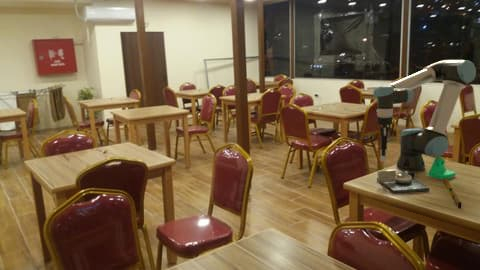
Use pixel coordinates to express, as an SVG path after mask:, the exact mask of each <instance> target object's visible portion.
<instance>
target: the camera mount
mask: <svg viewBox="0 0 480 270" xmlns="http://www.w3.org/2000/svg"><path fill="white" fill-rule="evenodd" d="M434 158H435V159H434V161H433V163H432V165H431V167H430V169H429V171H428V176H429V177H432V178H436V179H439V180H443V178H446V179H447V180H450V179H452V178H453V177H456V175H457V174H456V172H455V171H453V170H449V169H446V166H445V163H446V160H445V158H441V157H434Z"/></svg>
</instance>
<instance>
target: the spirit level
mask: <svg viewBox="0 0 480 270" xmlns="http://www.w3.org/2000/svg"><path fill="white" fill-rule="evenodd" d="M442 183H443V185H444V186H445V188H446V190H447V191H448V193H449V195H450V196H451V198H452V200H453V201H454V204H455V205H456V207H457V208H458V209H462V205H463V204H462V202H461V200H460V198H459V197H458V195H457V193H456V192H455V190H453V187H452V186H451V184H450V182H449V180H448V179H446V178H443V179H442Z"/></svg>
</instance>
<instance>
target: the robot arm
mask: <svg viewBox="0 0 480 270" xmlns="http://www.w3.org/2000/svg"><path fill="white" fill-rule="evenodd" d="M476 75H477V69H476V66H475V63H474V62H472V60H471V61H470V60H467V59H466V60H465V59H443V60H440V61H436V62H434V63H431V64H430V65H427V66H425V67H423V68H422V69H421V70H420V71H417V72H415V73H412V74H411V75H408V76H406V77H404V78H401V79H399V80H396V81H395V82H392V83H390V84H387V85H380V86H377V87H375V88H374V90H373V93H372V94H373V98H374V99H375V100H377V102H376V104H377V105H376V106H377V107H376V108H377V109H376V110H375V112H376V116H377V117H376V124H377V125H379V126H380V127H379V131H380V147H379V150H380V153H379V154H380V155H379V156H380V158H379V159H380V160H379V162H387V149H388V147H387V145H388V136H389V129H390V128H389V127H388V126H391V125H393V116H394V105H397V104H409V103H411V102H412V101H413V100H414V99H415V98H414V97H415V93H414V91H413V90H414V89H416V88H419V87H421V86H423V85H425V84H427V83H428V84H432V83H435V82H442V84H443V87H442V90H441V92H440V95H439V97H438V98H439V99H438V101H437V103H436V106H435V108H434V111H433V113H432V117H431V119H430V122H429V125H428V126H427V127H425V128H424V129H423V128H419V127H418V128H413V127H412V128H406V129H402V130H401V132H400V148H399V150H400V152H399V157H398V158H397V161H396V168H397V169H399V170H402V171H405V172H421V171H424V170H425V168H426V164H425V161H424V160H425V159H424V157H423V155H424V156H427V157H433V158H437V157H438V158H440V156H441V157H442V156H443V155H444V154H445V153H446V152H447V150H448V148H449V140H448V139H447V136H448V135H447V132H446V130H447V128H448V125H449V122H450V121H451V117H452V115H453V112H454V110H455V106H456V104H457V101H458V100H459V96H460V93H461V92H462V90H463V89H466V87H467V84H469V83H472V81H474V80H475V78H476Z"/></svg>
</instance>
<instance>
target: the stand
mask: <svg viewBox="0 0 480 270" xmlns="http://www.w3.org/2000/svg"><path fill="white" fill-rule="evenodd" d="M400 173H403V174H408V175H411V176H412V182H411V183H398V182H383V183H379V184H380V185H381V186H382V187H383V188H385V189H386V190H388V191H389V192H390V193H391V194H392V195H402V194H403V195H405V194H416V193H419V194H420V193H429V192H430V189H431V188H430V187H429V186H427V185H426V184H425V183H423V182H422V181H419V180H418V179H416V172H415V171H402V172H400ZM376 182H378V177H376Z"/></svg>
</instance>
